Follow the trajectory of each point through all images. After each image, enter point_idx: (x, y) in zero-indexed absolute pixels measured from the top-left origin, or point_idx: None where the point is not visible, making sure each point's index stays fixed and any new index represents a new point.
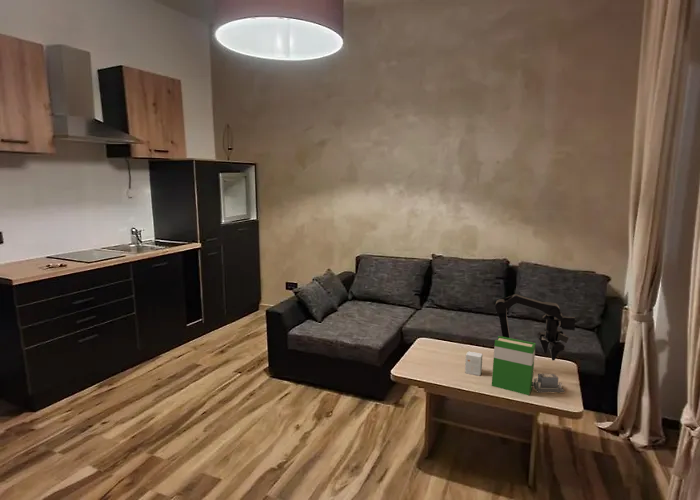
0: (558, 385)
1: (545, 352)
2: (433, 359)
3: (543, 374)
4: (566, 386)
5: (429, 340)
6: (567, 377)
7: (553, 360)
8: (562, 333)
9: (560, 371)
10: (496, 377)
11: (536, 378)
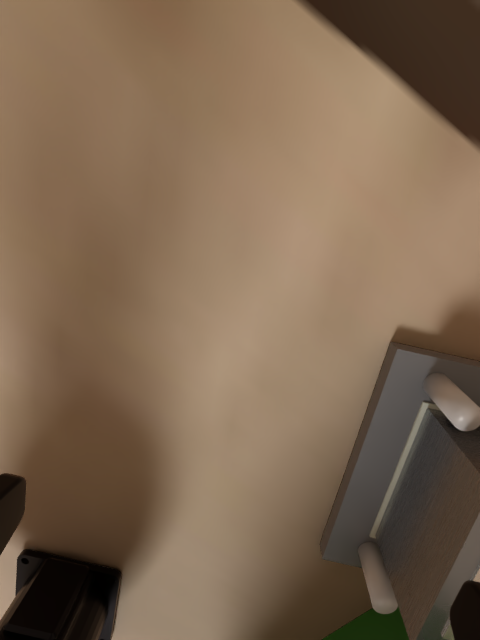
0: (467, 372)
1: (10, 512)
2: None
3: None
4: (470, 265)
5: None
6: (280, 78)
7: (475, 598)
8: None
9: (110, 45)
10: None
11: (387, 596)
